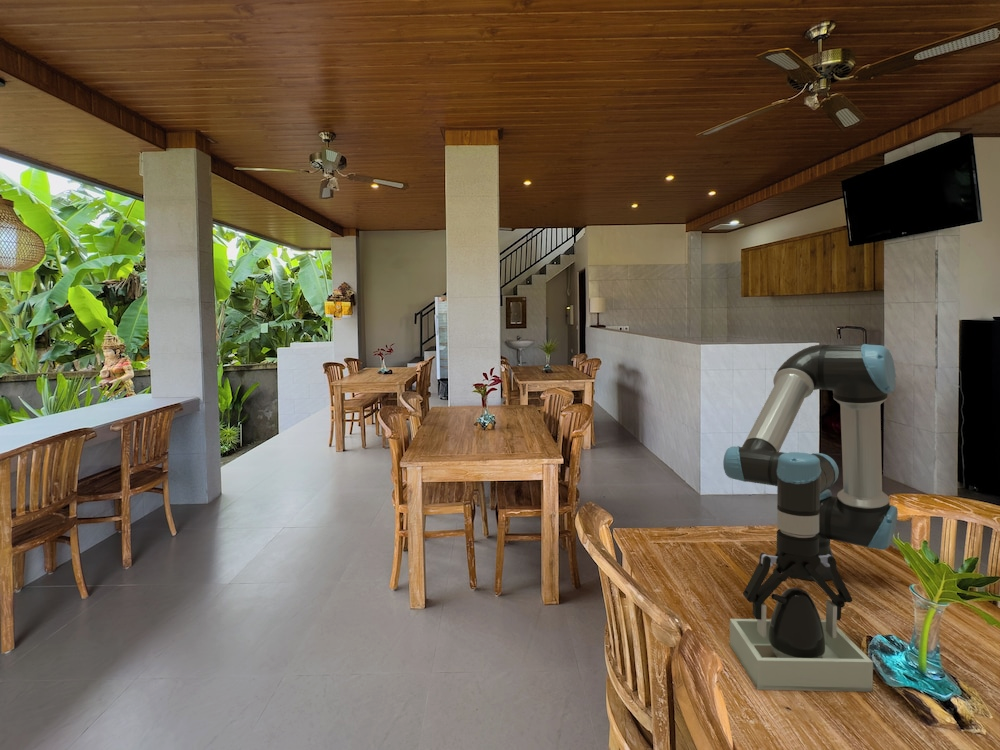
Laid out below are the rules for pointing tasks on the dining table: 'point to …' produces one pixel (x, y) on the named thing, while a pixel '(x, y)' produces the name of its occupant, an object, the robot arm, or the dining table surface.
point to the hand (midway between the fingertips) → (796, 634)
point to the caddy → (801, 662)
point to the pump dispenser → (796, 626)
